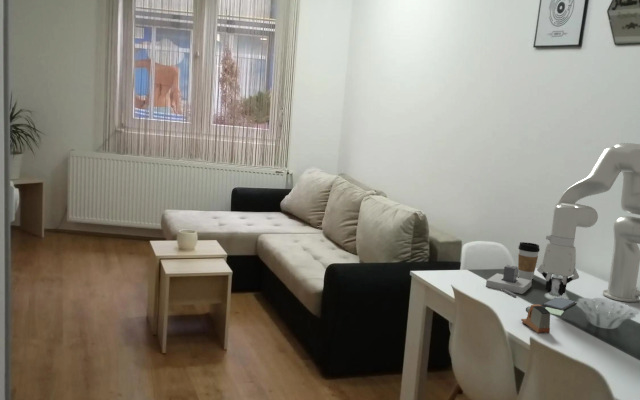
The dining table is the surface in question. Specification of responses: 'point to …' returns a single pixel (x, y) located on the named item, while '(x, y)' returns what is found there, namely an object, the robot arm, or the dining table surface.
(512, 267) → the charger
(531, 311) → the electronic device
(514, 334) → the dining table surface
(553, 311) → the pad
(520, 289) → the plate
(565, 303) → the phone
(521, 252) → the coffee cup
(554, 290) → the plug
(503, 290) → the cable
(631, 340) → the dining table surface
